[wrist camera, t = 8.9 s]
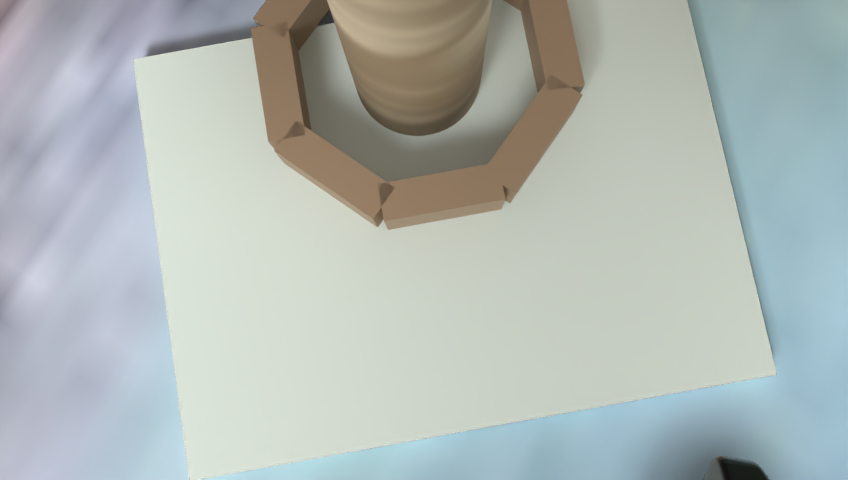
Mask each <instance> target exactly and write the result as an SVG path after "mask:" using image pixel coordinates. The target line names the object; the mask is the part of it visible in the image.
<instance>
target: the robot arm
mask: <svg viewBox="0 0 848 480" xmlns="http://www.w3.org/2000/svg"><path fill="white" fill-rule="evenodd" d="M703 480H770V479H769V478H768V476H767V475H766V474H765V472H764V471H763V470H762V468H761V467H759V466H758V465H757V464H756V463H754V462H751V461H747V460H742V459H737V458H731V457H726V456H718V457H716V458H715V459H714V460H713V461H712V462H711V464H710V466H709V468H708V470H707V472H706V474H705V476H704V478H703Z"/></svg>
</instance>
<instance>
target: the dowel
mask: <svg viewBox="0 0 848 480" xmlns="http://www.w3.org/2000/svg"><path fill="white" fill-rule="evenodd" d="M327 2H328V5H329V8H330V11H331V14H332V17H333V20H334V23H335V26H336V29H337V32H338V35H339V38H340V41H341V44H342V47H343V50H344V53H345V56H346V59H347V62H348V65H349V68H350V71H351V74H352V78H353V81H354V84H355V87H356V90H357V93H358V96H359V98H360V100H361V103H362V104H363V106H364V108H365V109H366V111H367V112H368V113H369V114H370V116H371V117H372V118H374V119H375V120H376V121H377V122H378V123H379V124H381V125H382V126H384V127H386V128H387V129H389V130H391V131H394V132H397V133H400V134H404V135H410V136H425V135H431V134H435V133H438V132H441V131H443V130H446V129H448V128H450V127H451V126H453V125H454V124H456V123H457V122H458V121H460V120H461V119H462V118H463V117H464V116H465V115H466V114H467V112H468V111H469V110H470V108H471V107H472V105H473V103H474V102H475V100H476V97H477V95H478V92H479V88H480V83H481V76H482V68H483V61H484V54H485V47H486V40H487V33H488V26H489V19H490V12H491V5H492V0H327Z"/></svg>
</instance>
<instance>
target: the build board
mask: <svg viewBox="0 0 848 480" xmlns="http://www.w3.org/2000/svg"><path fill="white" fill-rule="evenodd" d="M329 9H330V8H329V5H328V2H327V0H266V2H265V3H264V4H263V6H262V7H261V8H260V10H259V11H258V12H257V13H256V15H255V16H254V17H253V19H254V20H255V22H256V24H257V26H258V27H254V28H250V29H251V35H252V38H247V39H242V40H236V41H231V42H225V43H220V44H214V45H209V46H203V47H198V48H192V49H187V50H181V51H176V52H170V53H165V54H159V55H154V56H148V57H142V58H137V59H133V62H134V69H135V77H136V84H137V92H138V99H139V107H140V114H141V122H142V129H143V137H144V144H145V152H146V159H147V167H148V174H149V182H150V189H151V197H152V204H153V212H154V219H155V227H156V235H157V242H158V250H159V257H160V265H161V272H162V280H163V287H164V295H165V302H166V310H167V317H168V325H169V332H170V340H171V347H172V355H173V362H174V370H175V377H176V385H177V392H178V400H179V407H180V415H181V422H182V430H183V438H184V445H185V453H186V460H187V468H188V475H189V480H200V479H206V478H211V477H217V476H222V475H228V474H233V473H239V472H244V471H250V470H255V469H261V468H266V467H272V466H277V465H283V464H288V463H294V462H299V461H305V460H310V459H316V458H321V457H327V456H332V455H338V454H343V453H349V452H354V451H360V450H365V449H371V448H376V447H382V446H387V445H393V444H398V443H404V442H409V441H415V440H420V439H426V438H431V437H437V436H442V435H448V434H453V433H459V432H464V431H470V430H475V429H481V428H486V427H492V426H497V425H503V424H508V423H514V422H519V421H525V420H530V419H536V418H541V417H547V416H552V415H558V414H563V413H569V412H574V411H580V410H585V409H591V408H596V407H602V406H608V405H613V404H619V403H624V402H630V401H635V400H641V399H646V398H652V397H657V396H663V395H668V394H674V393H679V392H685V391H690V390H696V389H701V388H707V387H712V386H718V385H723V384H729V383H734V382H740V381H745V380H751V379H756V378H762V377H767V376H773V375H777V373H776V368H775V364H774V360H773V356H772V352H771V348H770V343H769V339H768V335H767V331H766V327H765V322H764V318H763V314H762V310H761V306H760V302H759V297H758V293H757V289H756V285H755V281H754V277H753V272H752V268H751V264H750V260H749V256H748V252H747V247H746V243H745V239H744V235H743V231H742V227H741V222H740V218H739V214H738V210H737V206H736V202H735V197H734V193H733V189H732V185H731V181H730V177H729V172H728V168H727V164H726V160H725V156H724V151H723V147H722V143H721V139H720V135H719V131H718V126H717V122H716V118H715V114H714V110H713V106H712V101H711V97H710V93H709V89H708V85H707V81H706V76H705V72H704V68H703V64H702V60H701V56H700V51H699V47H698V43H697V39H696V35H695V31H694V26H693V22H692V18H691V14H690V10H689V6H688V1H687V0H492V5H491V12H490V19H489V26H488V33H487V40H486V47H485V54H484V61H483V68H482V76H481V83H480V88H479V92H478V95H477V97H476V100H475V102H474V103H473V105H472V107H471V108H470V110H469V111H468V112H467V114H466V115H465V116H464V117H463V118H462V119H461V120H460V121H458V122H457V123H456V124H454V125H453V126H451V127H450V128H448V129H446V130H443V131H441V132H438V133H435V134H431V135H425V136H410V135H404V134H400V133H397V132H394V131H391V130H389V129H387V128H386V127H384V126H382V125H381V124H379V123H378V122H377V121H376V120H375V119H374V118H372V117H371V116H370V114H369V113H368V112H367V111H366V109H365V108H364V106H363V104H362V103H361V100H360V98H359V96H358V93H357V90H356V87H355V84H354V81H353V78H352V74H351V71H350V68H349V65H348V62H347V59H346V56H345V53H344V50H343V47H342V44H341V41H340V38H339V35H338V32H337V29H336V26H335V23H330V24H325V25H319V26H318V24H319V23H320V22H321V20H322V19H323V18H324V16H325V15H326V13H327V12H328V11H329Z"/></svg>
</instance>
